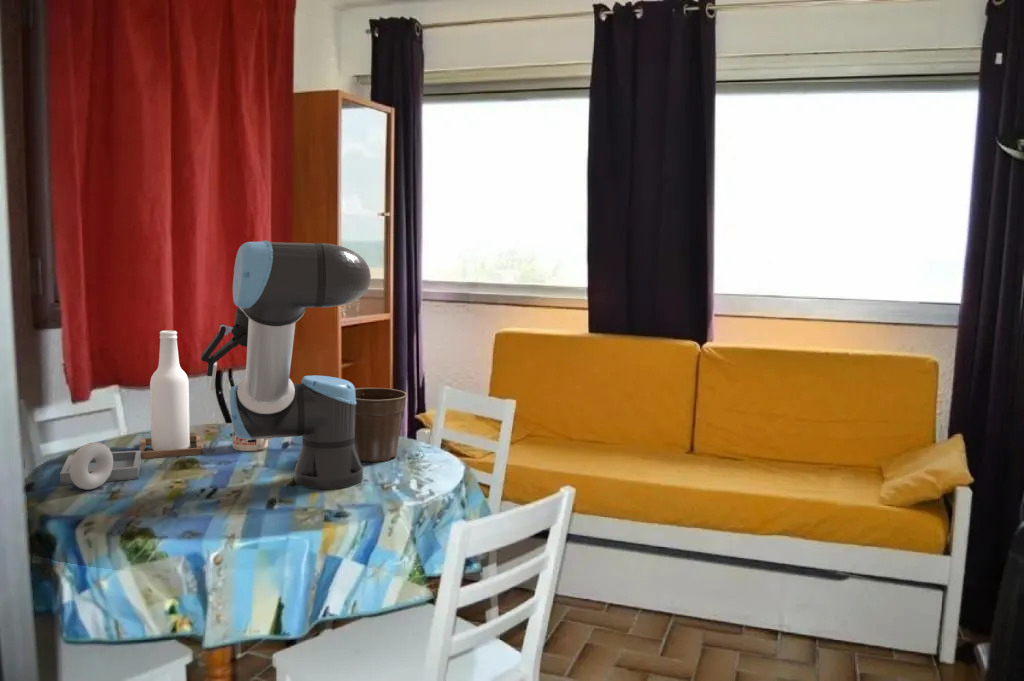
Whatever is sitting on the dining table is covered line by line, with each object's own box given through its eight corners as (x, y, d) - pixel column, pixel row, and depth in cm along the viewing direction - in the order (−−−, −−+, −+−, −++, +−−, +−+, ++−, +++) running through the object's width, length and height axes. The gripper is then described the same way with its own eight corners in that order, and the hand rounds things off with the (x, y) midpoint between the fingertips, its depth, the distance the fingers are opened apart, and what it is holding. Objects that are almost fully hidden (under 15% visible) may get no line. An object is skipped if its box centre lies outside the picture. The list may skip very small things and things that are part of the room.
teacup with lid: (224, 450, 196) (224, 405, 195) (243, 441, 205) (243, 398, 204) (268, 454, 194) (268, 408, 193) (285, 445, 203) (285, 401, 202)
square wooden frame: (201, 454, 192) (201, 448, 192) (139, 458, 186) (138, 452, 186) (200, 440, 205) (200, 434, 205) (141, 444, 199) (141, 438, 199)
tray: (138, 478, 172) (137, 467, 171) (60, 485, 166) (59, 473, 165) (141, 460, 185) (140, 450, 185) (69, 465, 179) (68, 455, 179)
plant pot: (393, 445, 207) (394, 385, 205) (415, 460, 193) (416, 397, 191) (333, 450, 199) (333, 389, 197) (351, 467, 185) (351, 401, 183)
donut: (79, 496, 159) (77, 449, 158) (66, 494, 160) (64, 447, 159) (118, 483, 168) (116, 438, 167) (105, 481, 169) (104, 436, 168)
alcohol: (144, 452, 192) (141, 332, 188) (164, 443, 201) (162, 328, 197) (177, 455, 191) (174, 334, 187) (196, 446, 199) (194, 330, 196)
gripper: (304, 310, 194) (290, 388, 200) (197, 298, 184) (186, 380, 190) (308, 320, 188) (294, 400, 194) (197, 307, 178) (186, 392, 183)
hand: (241, 390), depth 192 cm, fingers open, 13 cm apart
